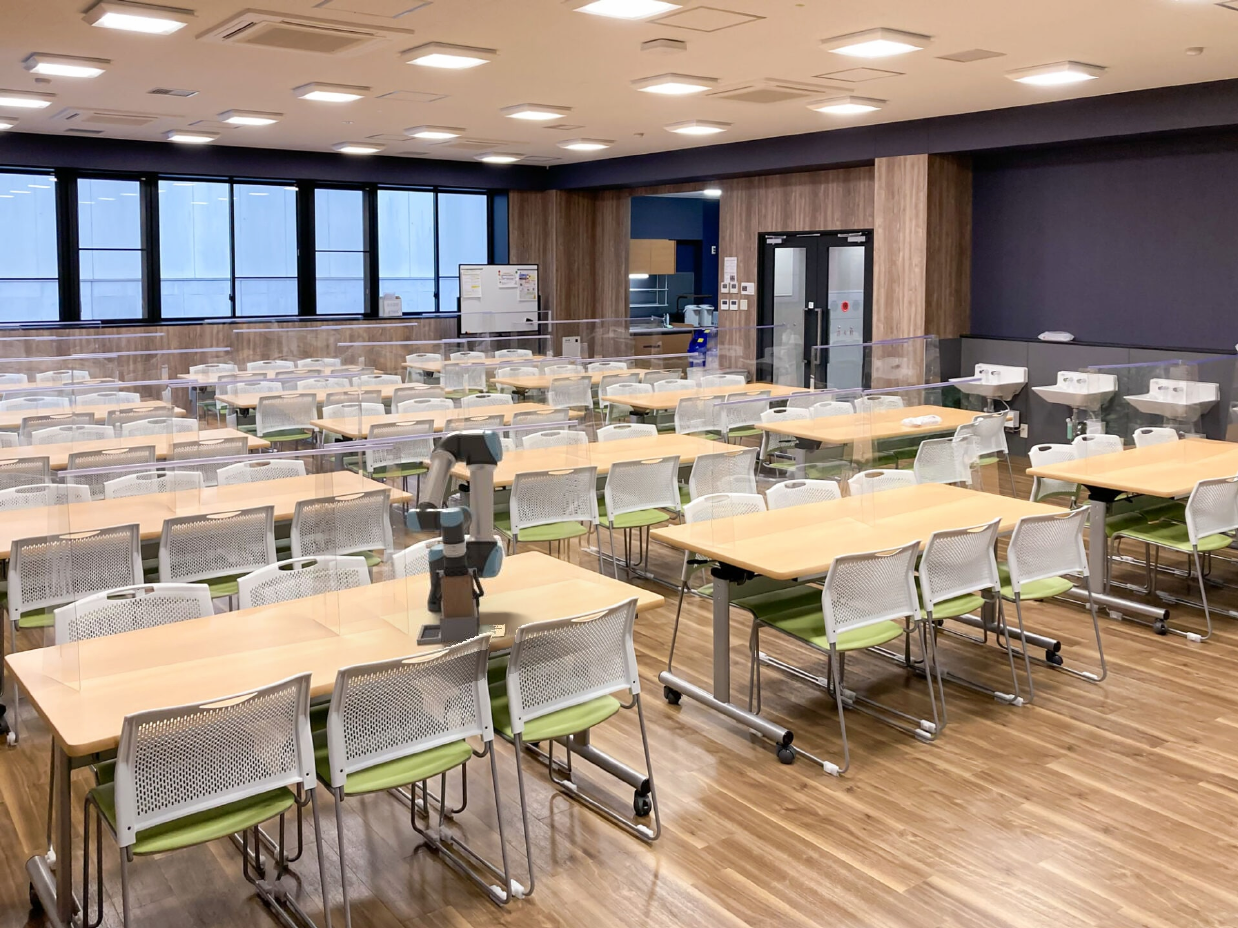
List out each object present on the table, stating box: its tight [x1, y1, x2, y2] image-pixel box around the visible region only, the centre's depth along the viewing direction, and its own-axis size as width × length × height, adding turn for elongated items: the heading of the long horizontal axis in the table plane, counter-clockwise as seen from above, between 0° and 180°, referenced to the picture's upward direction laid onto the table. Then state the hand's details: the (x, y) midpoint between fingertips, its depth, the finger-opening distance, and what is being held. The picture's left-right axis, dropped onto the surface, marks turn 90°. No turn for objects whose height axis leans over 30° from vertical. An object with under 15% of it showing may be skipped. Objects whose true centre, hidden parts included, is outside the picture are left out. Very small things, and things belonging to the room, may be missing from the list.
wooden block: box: [441, 572, 477, 624], centre depth 396 cm, size 10×10×20 cm
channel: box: [438, 606, 481, 643], centre depth 396 cm, size 16×12×8 cm
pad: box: [477, 623, 502, 636], centre depth 398 cm, size 13×9×1 cm
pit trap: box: [416, 623, 442, 645], centre depth 396 cm, size 16×8×2 cm, turn 4°
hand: (459, 617), depth 396 cm, fingers closed on wooden block, 10 cm apart
